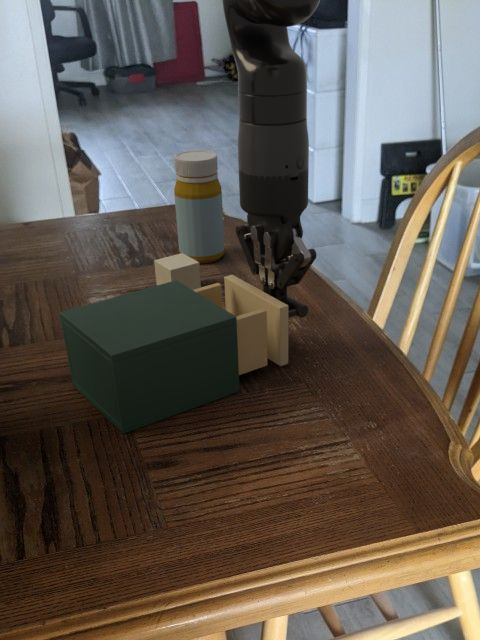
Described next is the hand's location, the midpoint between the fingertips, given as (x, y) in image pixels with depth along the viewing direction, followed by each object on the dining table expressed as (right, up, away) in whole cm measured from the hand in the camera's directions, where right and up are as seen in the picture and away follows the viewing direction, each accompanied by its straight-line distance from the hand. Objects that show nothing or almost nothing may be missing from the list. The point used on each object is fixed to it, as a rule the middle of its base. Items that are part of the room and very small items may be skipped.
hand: (275, 314), depth 94 cm
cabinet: (-14, -10, -5) cm, 17 cm away
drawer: (-5, -5, -1) cm, 7 cm away
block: (-14, +7, +17) cm, 23 cm away
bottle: (-11, +15, +28) cm, 34 cm away
